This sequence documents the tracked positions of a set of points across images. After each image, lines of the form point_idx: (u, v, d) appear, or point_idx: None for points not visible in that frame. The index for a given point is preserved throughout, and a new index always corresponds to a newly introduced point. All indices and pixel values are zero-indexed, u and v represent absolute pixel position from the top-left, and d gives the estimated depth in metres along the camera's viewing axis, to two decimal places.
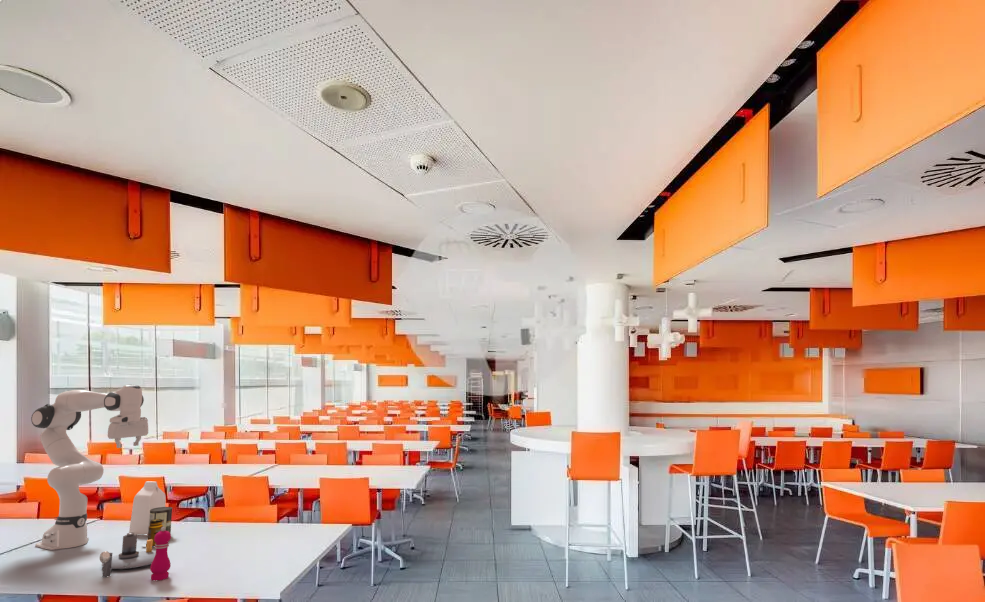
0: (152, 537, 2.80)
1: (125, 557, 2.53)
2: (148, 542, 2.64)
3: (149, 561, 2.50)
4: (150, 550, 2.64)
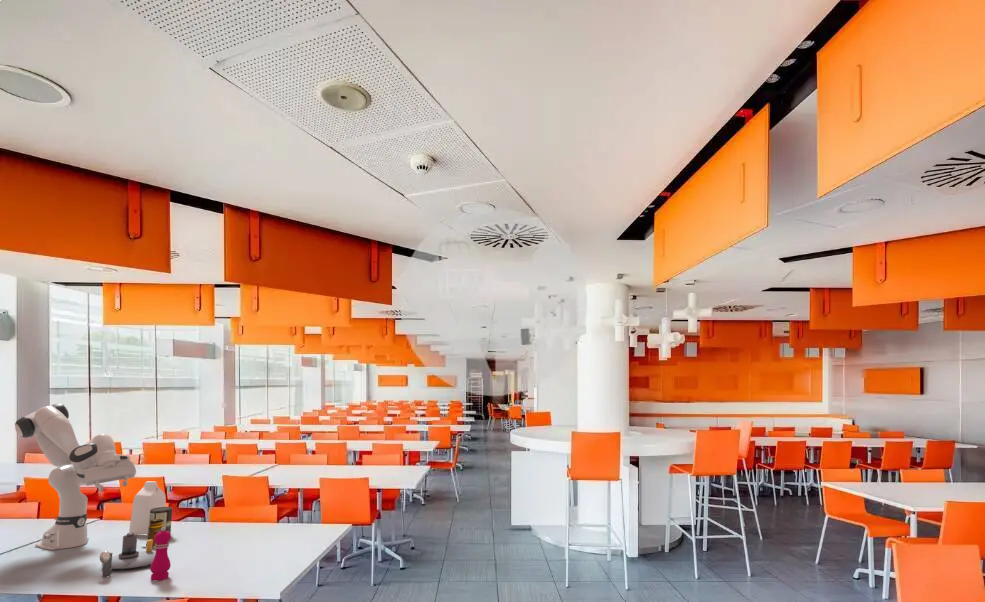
0: (152, 537, 2.80)
1: (125, 557, 2.53)
2: (148, 542, 2.64)
3: (149, 561, 2.50)
4: (150, 550, 2.64)
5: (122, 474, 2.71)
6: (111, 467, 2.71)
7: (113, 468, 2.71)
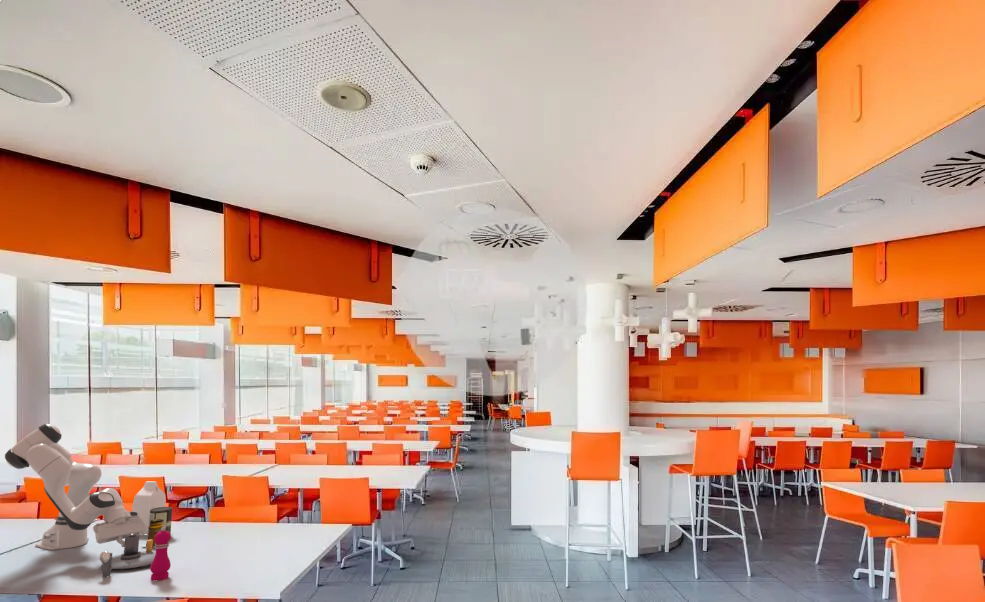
0: (152, 537, 2.80)
1: (127, 558, 2.52)
2: (148, 542, 2.64)
3: (149, 561, 2.50)
4: (150, 550, 2.64)
5: (134, 531, 2.63)
6: (122, 524, 2.62)
7: (124, 525, 2.63)
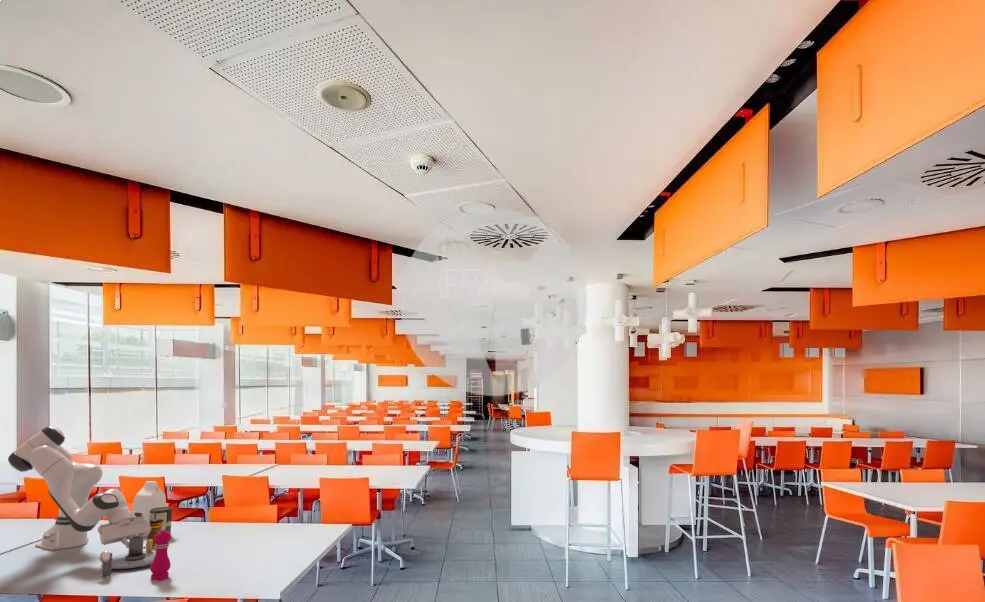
0: (152, 537, 2.80)
1: (131, 559, 2.50)
2: (148, 542, 2.64)
3: (149, 561, 2.50)
4: (150, 550, 2.64)
5: (138, 532, 2.61)
6: (127, 525, 2.61)
7: (128, 526, 2.61)
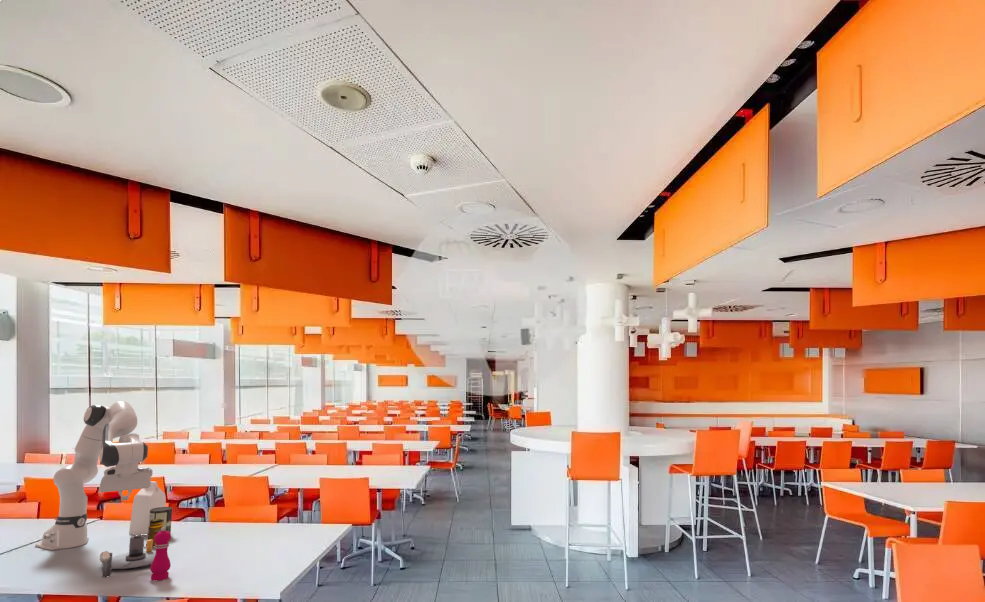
0: (152, 537, 2.80)
1: (132, 559, 2.50)
2: (148, 542, 2.64)
3: (149, 561, 2.50)
4: (150, 550, 2.64)
5: None
6: None
7: None
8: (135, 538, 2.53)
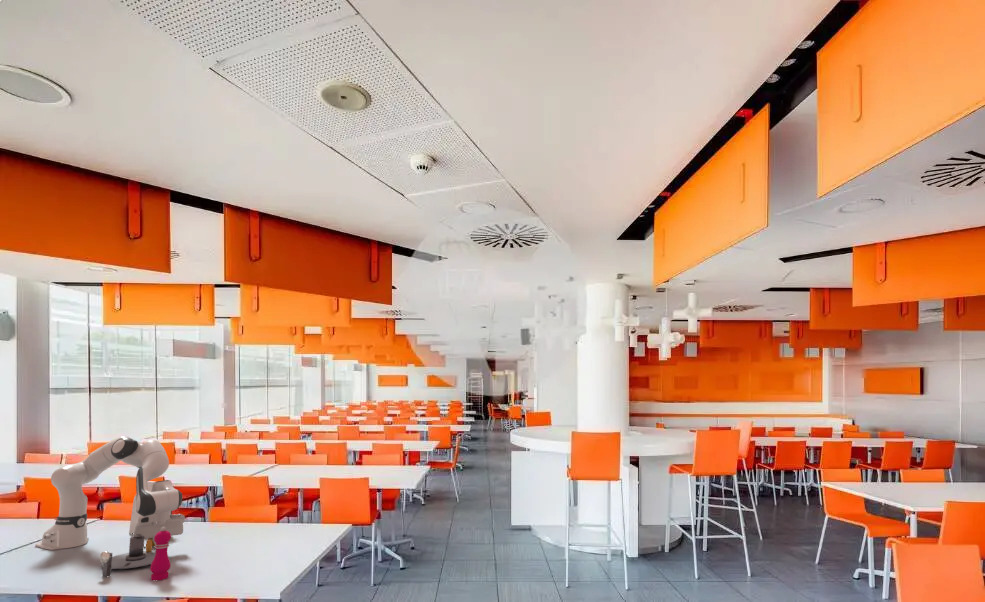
0: None
1: (132, 559, 2.50)
2: (148, 542, 2.64)
3: (149, 561, 2.50)
4: (150, 550, 2.64)
5: None
6: None
7: None
8: (135, 538, 2.53)
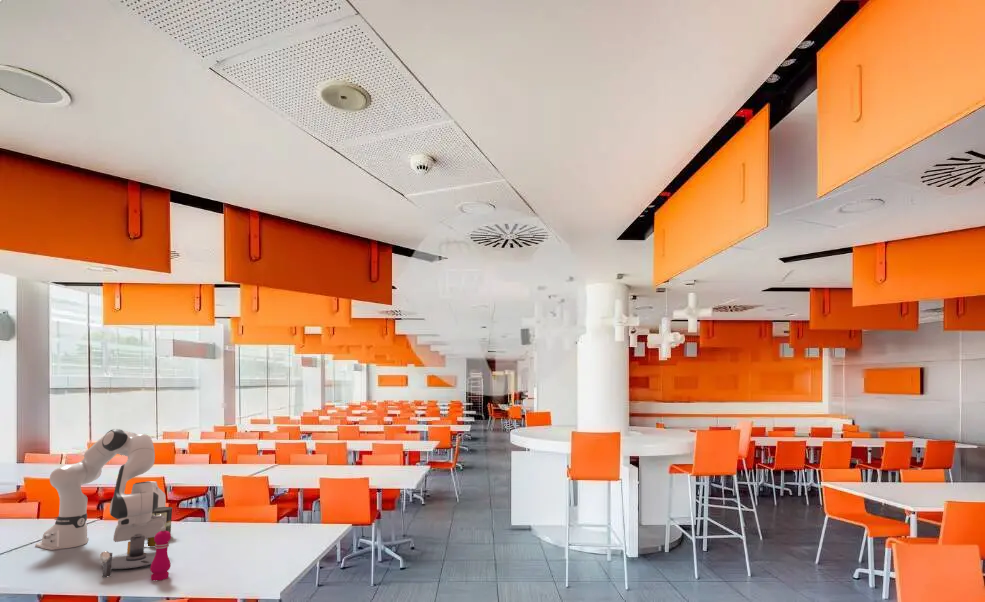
0: (152, 537, 2.80)
1: (140, 558, 2.52)
2: None
3: None
4: None
5: None
6: None
7: None
8: (139, 537, 2.54)
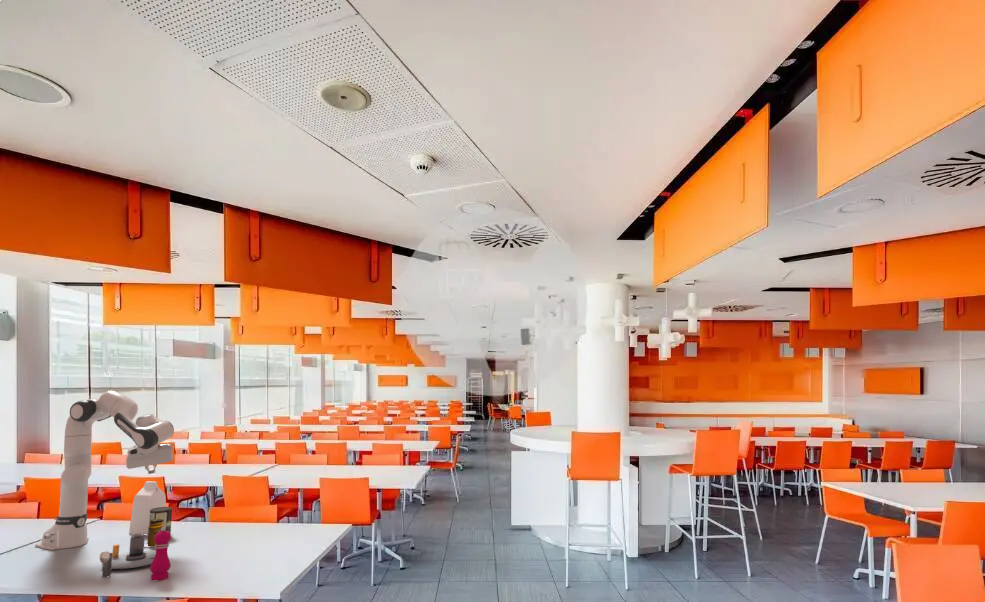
0: (152, 537, 2.80)
1: (144, 556, 2.54)
2: (118, 546, 2.57)
3: None
4: None
5: None
6: None
7: None
8: (142, 536, 2.56)
